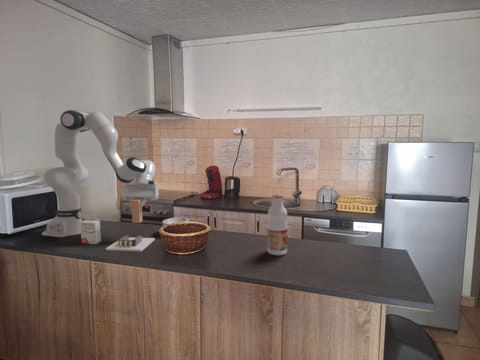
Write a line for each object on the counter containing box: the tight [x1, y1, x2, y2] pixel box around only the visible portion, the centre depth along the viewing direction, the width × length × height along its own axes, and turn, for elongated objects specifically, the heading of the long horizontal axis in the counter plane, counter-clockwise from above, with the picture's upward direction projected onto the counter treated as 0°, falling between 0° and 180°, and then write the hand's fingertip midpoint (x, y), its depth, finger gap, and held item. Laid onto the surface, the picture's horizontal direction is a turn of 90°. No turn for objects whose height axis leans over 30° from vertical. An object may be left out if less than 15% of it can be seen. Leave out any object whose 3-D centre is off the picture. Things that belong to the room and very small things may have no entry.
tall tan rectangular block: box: [130, 199, 143, 224], centre depth 167 cm, size 4×4×12 cm
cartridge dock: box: [105, 234, 156, 252], centre depth 161 cm, size 18×18×4 cm
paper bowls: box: [161, 217, 190, 227], centre depth 181 cm, size 15×15×8 cm
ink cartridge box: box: [80, 214, 102, 245], centre depth 164 cm, size 9×5×15 cm, turn 84°
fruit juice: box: [266, 193, 288, 256], centre depth 148 cm, size 9×9×28 cm
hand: (136, 205), depth 166 cm, fingers closed on tall tan rectangular block, 4 cm apart
